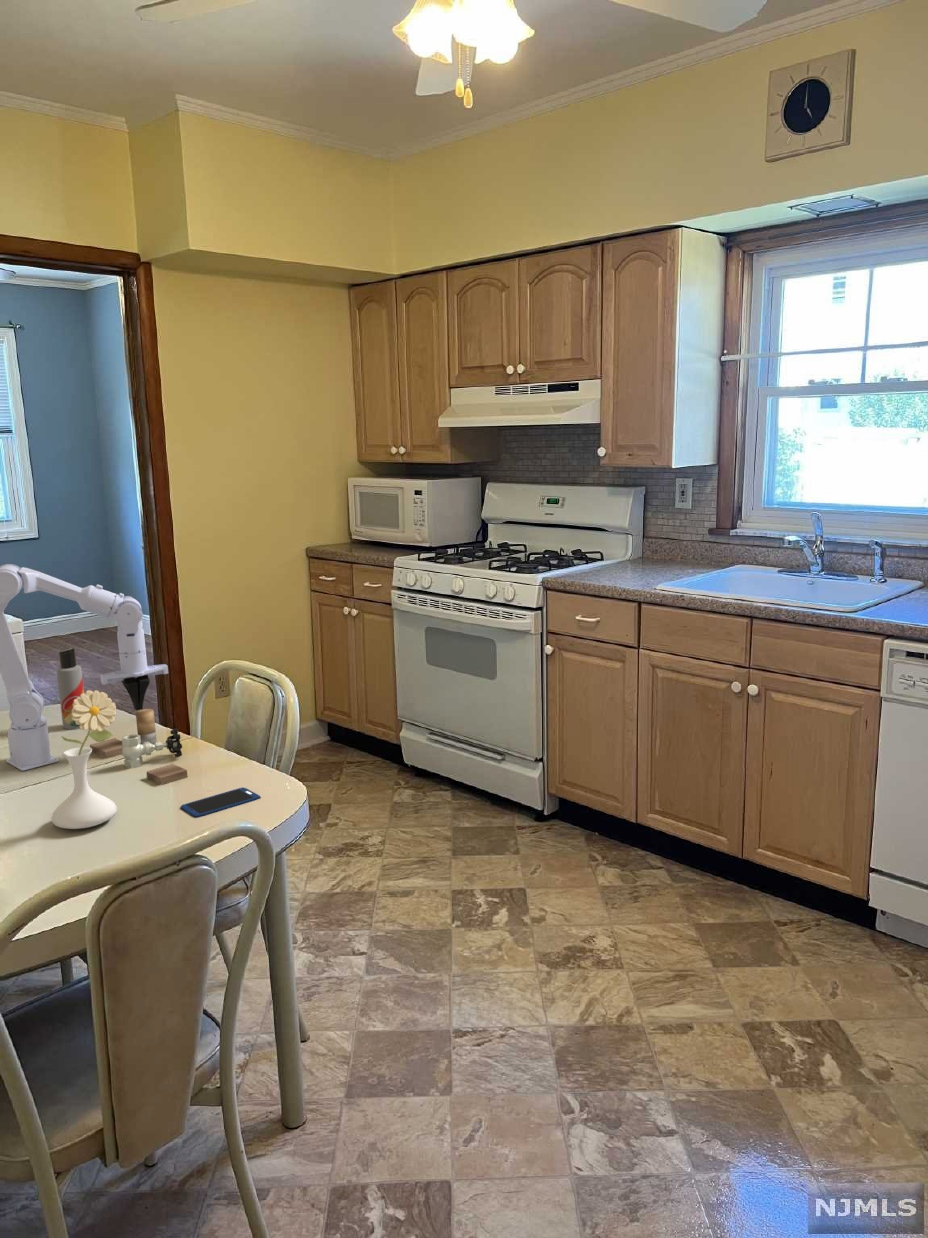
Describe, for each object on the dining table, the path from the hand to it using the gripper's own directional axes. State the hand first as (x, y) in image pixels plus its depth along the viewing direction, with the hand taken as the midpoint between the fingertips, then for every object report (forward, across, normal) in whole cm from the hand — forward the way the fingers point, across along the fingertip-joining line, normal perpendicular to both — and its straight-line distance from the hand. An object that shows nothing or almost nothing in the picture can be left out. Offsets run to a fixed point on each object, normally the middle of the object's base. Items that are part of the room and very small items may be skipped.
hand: (138, 709), depth 211 cm
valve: (+10, -1, -10) cm, 14 cm away
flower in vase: (+10, -20, -36) cm, 43 cm away
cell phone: (+10, +2, -43) cm, 45 cm away
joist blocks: (+10, -4, -10) cm, 15 cm away
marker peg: (+10, +2, +2) cm, 10 cm away
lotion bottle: (+10, -8, +29) cm, 32 cm away
